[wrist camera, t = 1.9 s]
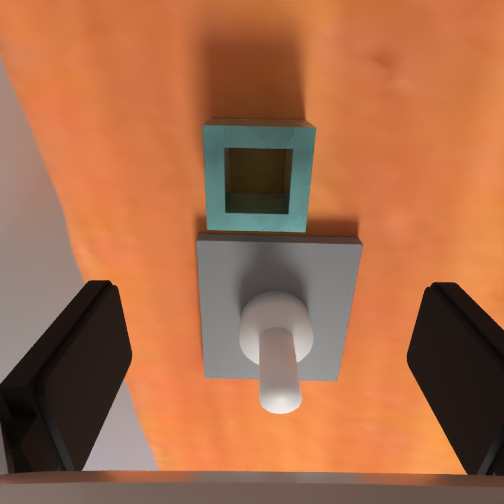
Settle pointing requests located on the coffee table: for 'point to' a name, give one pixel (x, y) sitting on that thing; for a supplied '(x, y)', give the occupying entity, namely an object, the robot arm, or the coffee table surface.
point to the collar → (258, 204)
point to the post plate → (275, 271)
